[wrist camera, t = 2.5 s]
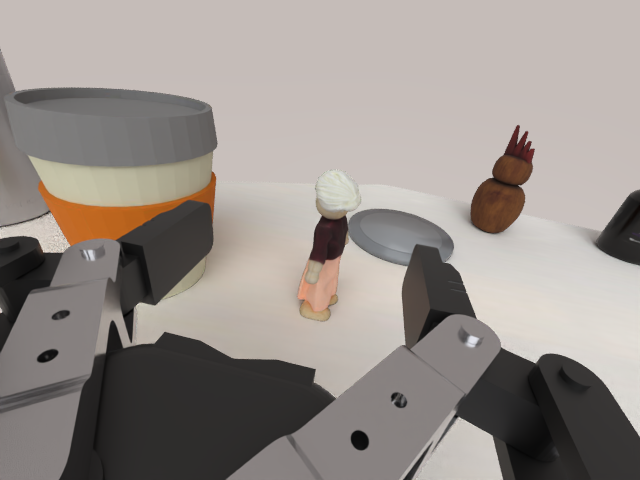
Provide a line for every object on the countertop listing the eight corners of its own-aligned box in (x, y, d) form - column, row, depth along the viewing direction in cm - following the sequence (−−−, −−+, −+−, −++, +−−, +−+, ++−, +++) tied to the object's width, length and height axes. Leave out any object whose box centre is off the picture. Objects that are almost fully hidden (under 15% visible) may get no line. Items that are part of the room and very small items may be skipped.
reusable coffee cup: (168, 336, 22) (126, 128, 15) (33, 293, 24) (-65, 90, 17) (245, 252, 33) (244, 106, 25) (147, 227, 35) (119, 85, 27)
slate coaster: (341, 252, 35) (343, 246, 35) (353, 207, 47) (354, 201, 47) (462, 277, 34) (465, 271, 34) (442, 224, 46) (444, 219, 45)
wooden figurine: (458, 216, 50) (496, 121, 42) (491, 219, 50) (534, 126, 42) (478, 236, 44) (526, 130, 36) (515, 240, 44) (570, 136, 37)
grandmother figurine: (306, 277, 30) (322, 154, 24) (343, 286, 30) (369, 162, 24) (283, 333, 24) (296, 184, 17) (330, 345, 23) (361, 196, 17)
